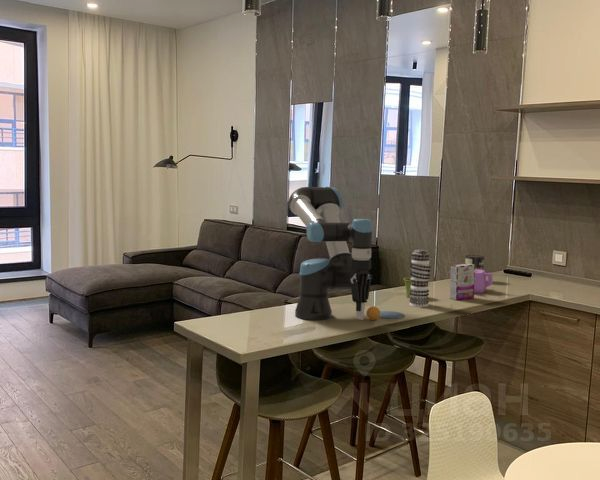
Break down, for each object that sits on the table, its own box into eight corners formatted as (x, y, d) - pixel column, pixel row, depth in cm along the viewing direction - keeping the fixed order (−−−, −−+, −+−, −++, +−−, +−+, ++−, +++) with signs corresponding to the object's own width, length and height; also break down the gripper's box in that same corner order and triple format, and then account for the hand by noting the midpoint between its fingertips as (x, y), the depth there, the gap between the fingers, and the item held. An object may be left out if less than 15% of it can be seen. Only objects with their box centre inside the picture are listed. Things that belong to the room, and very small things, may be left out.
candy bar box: (466, 296, 297) (468, 263, 295) (474, 298, 292) (475, 264, 291) (449, 298, 292) (450, 264, 290) (456, 300, 287) (457, 266, 285)
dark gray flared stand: (485, 280, 343) (486, 255, 342) (479, 283, 335) (481, 257, 333) (467, 278, 349) (468, 254, 347) (461, 281, 340) (462, 256, 339)
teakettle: (494, 293, 308) (496, 268, 306) (465, 294, 302) (466, 270, 301) (475, 287, 324) (476, 264, 322) (447, 288, 318) (448, 265, 317)
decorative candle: (406, 302, 281) (407, 248, 278) (425, 302, 281) (427, 248, 279) (411, 307, 272) (413, 251, 269) (431, 306, 272) (434, 251, 270)
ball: (363, 320, 246) (363, 306, 245) (371, 317, 250) (371, 304, 249) (375, 322, 242) (375, 308, 242) (382, 320, 246) (383, 306, 246)
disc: (367, 315, 254) (367, 314, 254) (384, 310, 264) (384, 309, 264) (394, 320, 246) (394, 319, 246) (410, 314, 256) (410, 314, 256)
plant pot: (408, 299, 288) (408, 281, 287) (399, 295, 297) (400, 277, 296) (426, 298, 291) (426, 280, 290) (417, 294, 300) (417, 277, 299)
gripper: (359, 261, 229) (358, 323, 231) (378, 258, 239) (377, 317, 241) (343, 259, 234) (342, 320, 236) (362, 256, 243) (361, 314, 246)
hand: (360, 318), depth 238 cm, fingers closed
